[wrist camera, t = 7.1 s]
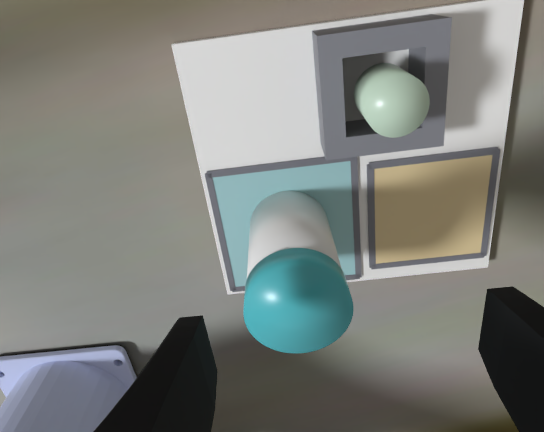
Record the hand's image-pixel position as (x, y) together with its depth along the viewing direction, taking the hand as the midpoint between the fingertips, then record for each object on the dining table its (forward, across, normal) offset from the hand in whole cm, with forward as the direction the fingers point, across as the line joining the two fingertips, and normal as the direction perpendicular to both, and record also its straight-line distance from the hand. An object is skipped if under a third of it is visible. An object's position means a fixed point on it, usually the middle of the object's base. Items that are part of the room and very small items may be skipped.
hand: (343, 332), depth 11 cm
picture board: (+10, -2, -1) cm, 10 cm away
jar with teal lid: (+9, +1, +2) cm, 9 cm away
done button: (+7, -3, -4) cm, 9 cm away
